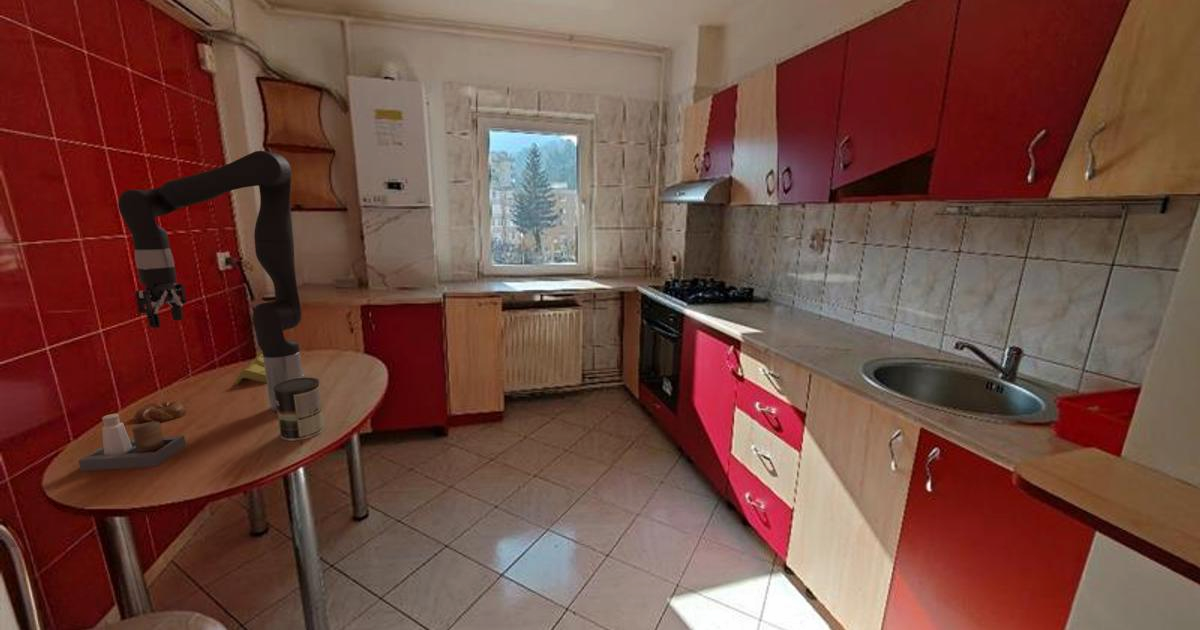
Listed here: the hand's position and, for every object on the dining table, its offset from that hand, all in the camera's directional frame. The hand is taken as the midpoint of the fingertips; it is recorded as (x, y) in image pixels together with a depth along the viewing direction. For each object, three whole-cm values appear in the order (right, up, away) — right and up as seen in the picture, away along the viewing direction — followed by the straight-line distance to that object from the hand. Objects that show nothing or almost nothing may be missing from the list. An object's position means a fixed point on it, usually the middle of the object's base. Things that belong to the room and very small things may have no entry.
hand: (167, 323), depth 129 cm
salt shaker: (+6, -32, -18) cm, 37 cm away
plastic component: (-2, -20, +40) cm, 45 cm away
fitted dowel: (+13, -32, -17) cm, 38 cm away
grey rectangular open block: (+9, -33, -18) cm, 38 cm away
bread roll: (-7, -28, +7) cm, 29 cm away
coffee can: (+40, -30, -2) cm, 50 cm away
